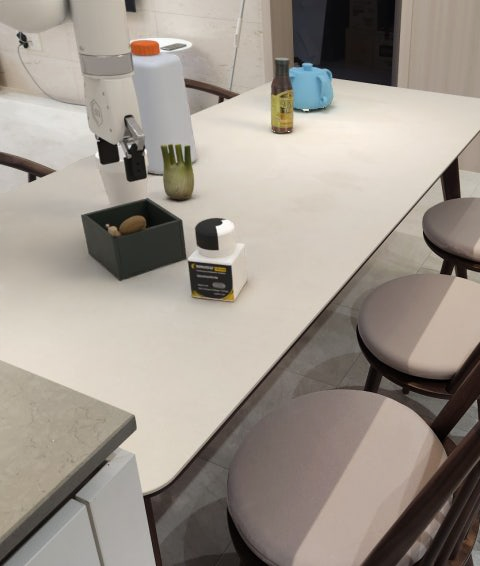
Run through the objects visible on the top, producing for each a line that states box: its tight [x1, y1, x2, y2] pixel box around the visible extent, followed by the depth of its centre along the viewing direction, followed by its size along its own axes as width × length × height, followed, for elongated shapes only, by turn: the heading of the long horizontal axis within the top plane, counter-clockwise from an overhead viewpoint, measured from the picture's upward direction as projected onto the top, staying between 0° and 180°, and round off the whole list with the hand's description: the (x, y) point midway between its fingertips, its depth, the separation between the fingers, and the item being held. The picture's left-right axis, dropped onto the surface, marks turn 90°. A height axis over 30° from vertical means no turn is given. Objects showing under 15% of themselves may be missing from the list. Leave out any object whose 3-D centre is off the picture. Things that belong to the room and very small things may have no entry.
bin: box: [80, 197, 188, 281], centre depth 111 cm, size 12×12×8 cm
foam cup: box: [94, 145, 149, 207], centre depth 124 cm, size 10×9×13 cm
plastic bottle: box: [118, 39, 198, 175], centre depth 147 cm, size 15×15×28 cm
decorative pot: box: [289, 62, 334, 110], centre depth 201 cm, size 16×16×14 cm
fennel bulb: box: [161, 144, 195, 201], centre depth 133 cm, size 6×5×12 cm
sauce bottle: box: [270, 57, 294, 133], centre depth 176 cm, size 7×6×20 cm
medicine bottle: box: [187, 217, 248, 303], centre depth 102 cm, size 7×7×12 cm
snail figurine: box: [106, 216, 146, 237], centre depth 106 cm, size 5×6×12 cm
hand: (123, 171), depth 105 cm, fingers open, 9 cm apart
